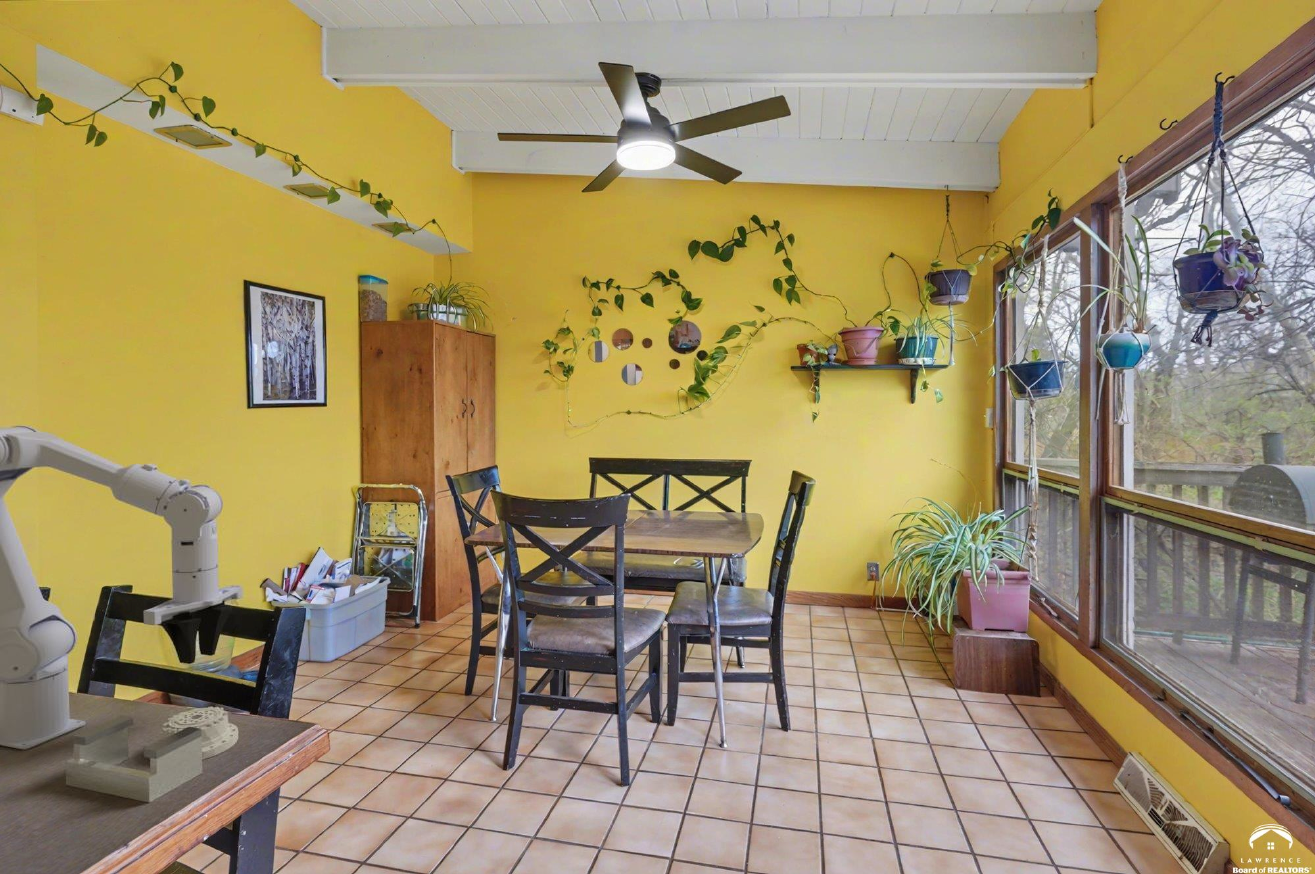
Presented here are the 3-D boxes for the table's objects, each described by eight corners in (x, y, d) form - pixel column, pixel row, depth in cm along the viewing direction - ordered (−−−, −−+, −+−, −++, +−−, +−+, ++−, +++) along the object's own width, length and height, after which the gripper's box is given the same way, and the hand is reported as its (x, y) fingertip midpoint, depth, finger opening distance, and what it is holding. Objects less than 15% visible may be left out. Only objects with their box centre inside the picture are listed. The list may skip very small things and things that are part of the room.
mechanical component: (132, 762, 93) (196, 770, 91) (132, 729, 92) (195, 737, 90) (196, 728, 102) (255, 735, 100) (195, 698, 102) (254, 705, 100)
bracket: (66, 785, 86) (64, 739, 86) (122, 757, 93) (121, 715, 93) (149, 802, 83) (148, 755, 83) (202, 772, 90) (201, 728, 89)
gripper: (170, 582, 95) (172, 679, 96) (257, 559, 109) (259, 645, 110) (131, 578, 97) (133, 674, 98) (221, 556, 111) (223, 640, 112)
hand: (197, 658), depth 104 cm, fingers open, 3 cm apart
